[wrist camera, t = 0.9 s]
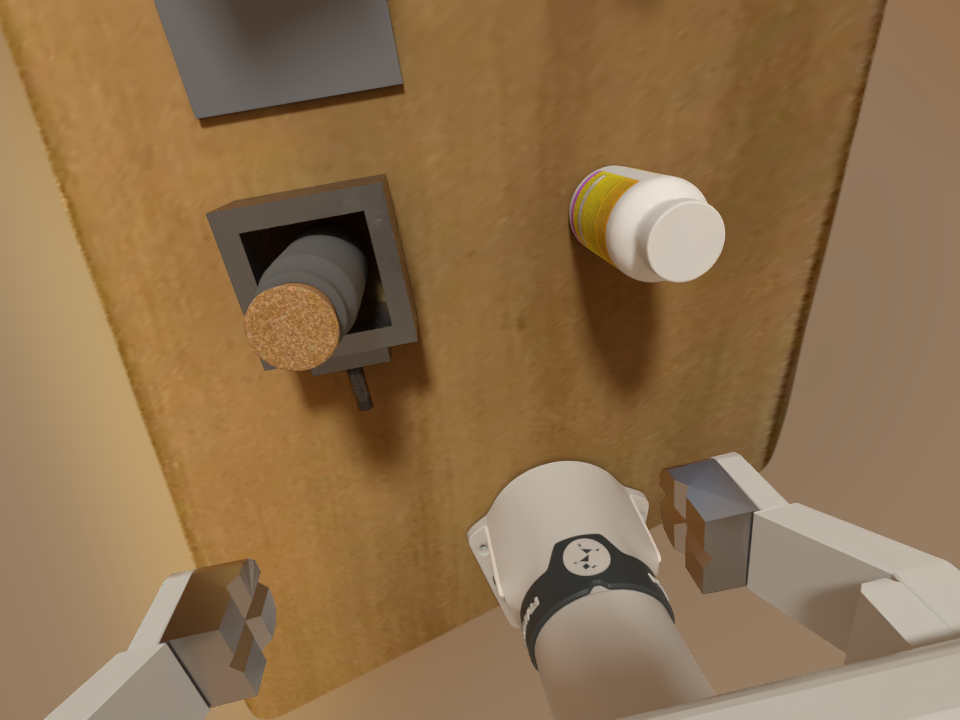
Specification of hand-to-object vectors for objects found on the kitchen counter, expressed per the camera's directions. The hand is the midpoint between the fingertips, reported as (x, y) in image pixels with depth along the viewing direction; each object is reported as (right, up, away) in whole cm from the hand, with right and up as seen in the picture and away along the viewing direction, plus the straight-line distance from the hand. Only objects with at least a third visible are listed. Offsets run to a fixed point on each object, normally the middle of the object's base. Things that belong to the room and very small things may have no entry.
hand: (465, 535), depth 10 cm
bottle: (-11, +11, +30) cm, 34 cm away
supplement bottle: (+10, +16, +31) cm, 36 cm away
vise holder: (-11, +8, +31) cm, 34 cm away
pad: (-13, +27, +22) cm, 38 cm away
